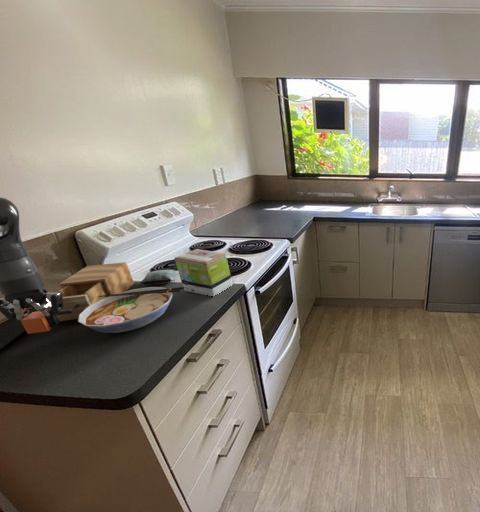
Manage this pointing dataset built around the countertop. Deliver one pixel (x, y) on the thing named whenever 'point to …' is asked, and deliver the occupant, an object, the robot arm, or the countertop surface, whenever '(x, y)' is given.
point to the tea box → (204, 272)
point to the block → (35, 323)
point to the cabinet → (104, 277)
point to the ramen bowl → (127, 309)
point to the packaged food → (159, 277)
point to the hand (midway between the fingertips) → (43, 326)
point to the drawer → (80, 298)
